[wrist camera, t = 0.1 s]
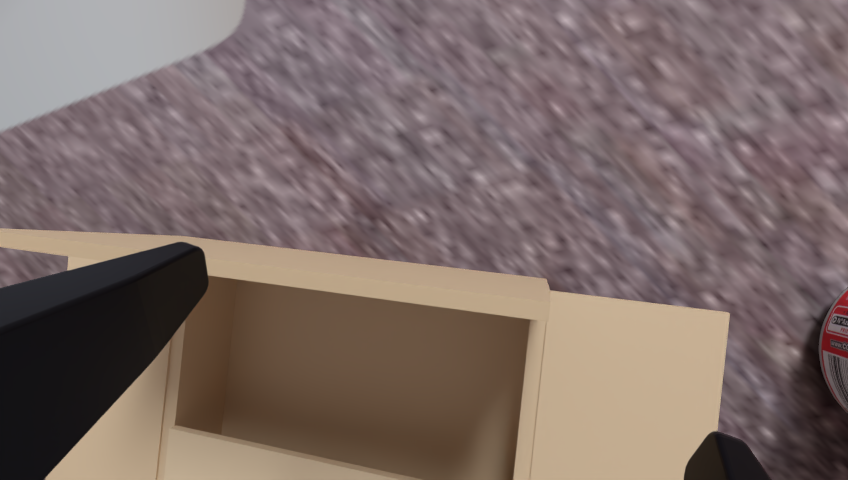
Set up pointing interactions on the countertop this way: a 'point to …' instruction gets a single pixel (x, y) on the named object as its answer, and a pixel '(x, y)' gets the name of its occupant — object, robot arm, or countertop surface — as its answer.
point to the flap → (316, 271)
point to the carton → (412, 392)
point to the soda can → (836, 349)
